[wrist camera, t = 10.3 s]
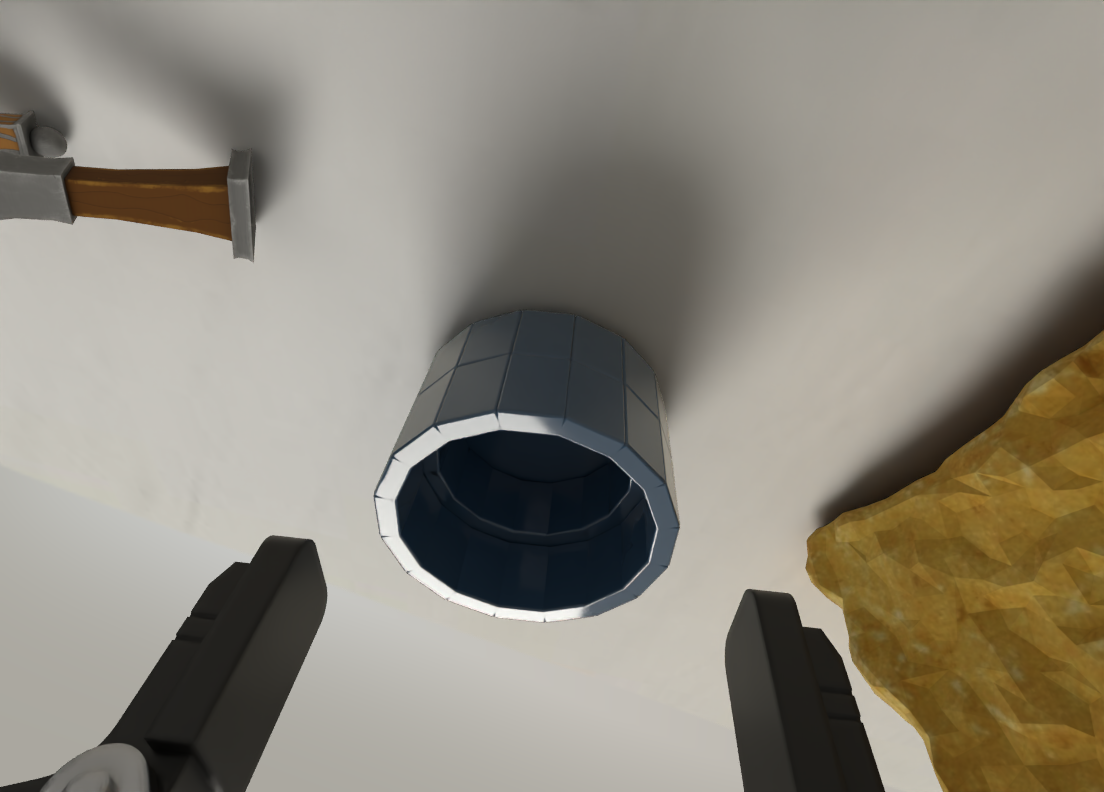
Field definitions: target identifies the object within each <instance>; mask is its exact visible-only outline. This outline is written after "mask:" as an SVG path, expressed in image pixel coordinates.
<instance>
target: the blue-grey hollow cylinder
mask: <svg viewBox="0 0 1104 792" xmlns="http://www.w3.org/2000/svg"><path fill="white" fill-rule="evenodd" d="M374 502H375V508H376V514H377V521H378V527H379V534H380V535H381V538H382V540H383V541H384V542H385V544H386V545H387V547H388V548H389V549H390V551H391V552H392V554H393V555H394V556H395V558H396V559H397V560H398V562H399V563H400V565H401V566H402V567H403V569H404V570H405V571H407V574H409V575H410V576H412V577H413V578H415V579H416V580H417V581H419V582H420V583H422V584H423V585H425V586H426V587H428V588H429V589H430V590H432V591H433V592H435V593H436V594H438V595H439V596H440V597H442V598H443V599H447V600H448V601H450V602H453V603H456V604H459V605H461V606H464V607H467V608H470V609H473V610H475V611H478V612H481V613H484V614H487V615H489V616H495V617H496V618H505V619H515V620H524V621H533V622H542V623H544V622H555V621H563V620H570V619H578V618H586V617H593V616H598V615H600V614H602V613H604V612H607V611H609V610H611V609H614V608H616V607H618V606H620V605H623V604H625V603H627V602H629V601H632V600H634V599H636V598H638V596H640V595H641V594H642V593H643V592H644V591H645V590H646V589H647V588H648V587H649V586H650V585H651V584H652V583H653V582H654V581H655V580H656V579H657V578H658V577H659V576H660V575H661V574H662V573H663V572H664V571H665V570H666V569H667V568H668V566H669V564H670V561H671V558H672V554H673V550H674V547H675V543H676V540H677V536H678V532H679V529H680V521H679V513H678V505H677V497H676V488H675V480H674V472H673V464H672V456H671V448H670V440H669V432H668V423H667V415H666V409H665V405H664V402H663V398H662V395H661V391H660V388H659V384H658V381H657V378H656V374H655V373H654V371H653V369H652V368H651V367H650V366H649V365H648V364H647V363H646V362H645V361H644V359H643V358H642V357H641V356H640V355H639V354H638V353H637V352H636V351H635V350H634V348H633V347H632V346H631V345H630V344H629V343H628V342H627V341H626V340H625V339H624V338H622V337H621V336H620V335H618V334H616V333H613V332H611V331H609V330H607V329H605V328H603V327H601V326H599V325H597V324H595V323H593V322H591V321H588V320H586V319H584V318H582V317H580V316H575V315H574V314H567V313H556V312H546V311H535V310H523V311H522V310H518V311H514V312H511V313H507V314H503V315H500V316H496V317H493V318H489V319H485V320H482V321H478V322H475V323H474V324H470V325H469V326H468V327H467V328H465V329H464V330H463V331H462V332H461V333H459V334H458V335H457V336H456V337H454V338H453V339H452V340H451V341H449V342H448V343H447V344H446V345H444V346H443V347H442V348H441V349H439V351H438V352H437V353H436V355H435V358H434V360H433V362H432V364H431V366H430V369H429V371H428V373H427V375H426V377H425V380H424V382H423V384H422V386H421V388H420V391H419V393H418V395H417V397H416V400H415V402H414V404H413V406H412V408H411V411H410V413H409V415H408V417H407V420H406V422H405V424H404V426H403V428H402V431H401V433H400V435H399V437H398V439H397V442H396V444H395V446H394V448H393V450H392V453H391V455H390V457H389V459H388V462H387V464H386V466H385V468H384V471H383V473H382V475H381V477H380V480H379V482H378V484H377V486H376V489H375V491H374Z"/></svg>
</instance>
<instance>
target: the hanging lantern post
mask: <svg viewBox="0 0 1104 792" xmlns="http://www.w3.org/2000/svg"><path fill="white" fill-rule="evenodd" d="M66 149H67V142H66V140H65V138H64V136H63V135H62V134H61V133H60V132H58V131H57V130H55V129H53V128H50V127H37V123H36V119H35V115H34V111H29V112H27V113H24V114H9V113H0V220H4V219H13V218H21V219H39V220H55V221H59V222H63V223H68V224H72V225H73V223H74V221H75V219H76V218H77V216H82V217H94V218H106V219H117V220H124V221H130V222H136V223H142V224H148V225H154V226H161V227H167V228H173V229H179V230H185V231H191V232H197V233H201V234H205V235H209V236H213V237H218V238H222V239H226V240H230V241H232V243H233V255H234V259H235V258H238V257H239V258H245V259H249V260H250V261H251V262H254V247H255V232H256V220H255V203H254V186H253V169H252V152H251V149H249V150H247V151H236V150H234V149H232V152H231V158H230V164H229V166H223V167H212V168H202V169H124V170H117V169H104V168H91V167H79V166H75V163H74V159H73V157H71V158H55V157H59V156H62V155H63V154H64V153H65V152H66ZM46 157H48V158H46Z"/></svg>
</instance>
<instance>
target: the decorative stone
mask: <svg viewBox="0 0 1104 792" xmlns="http://www.w3.org/2000/svg"><path fill="white" fill-rule="evenodd" d="M807 551H808V558H807V563H806V570H807V573H808V575H809V578H810V580H811V582H812V583H813V584H814V585H815V586H816V587H817V588H818V589H819V590H820V591H821V592H822V593H823V594H824V595H825V596H826V597H827V598H828V599H830V600H831V601H832V602H834V603H835V604H837V605H838V606H839V607H840V608H842V609H843V613H844V617H845V622H846V626H847V630H848V634H849V649H850V653H851V658H852V661H853V663H854V664H855V666H856V667H857V669H858V670H859V671H860V673H861V674H862V676H863V677H864V679H865V680H866V682H867V683H868V684H869V686H870V687H871V689H872V690H873V692H874V693H875V694H876V695H877V696H878V697H880V698H881V699H882V700H883V701H884V702H886V703H887V704H888V705H889V706H891V707H892V708H893V709H894V710H895V711H896V712H897V713H898V714H899V715H900V716H901V717H902V718H903V719H904V720H905V721H907V722H908V723H909V724H911V725H912V726H913V727H914V728H915V729H916V730H917V732H918V733H919V735H920V736H921V737H922V739H923V740H924V743H925V746H926V749H927V751H928V754H929V757H930V760H931V763H932V766H933V768H934V771H935V774H936V777H937V779H938V781H939V783H940V786H941V788H942V790H943V792H1104V330H1103V331H1102V332H1100V333H1099V334H1098V335H1097V336H1095V337H1094V338H1093V339H1092V340H1091V341H1089V342H1088V343H1087V344H1086V345H1085V346H1083V347H1081V348H1079V349H1077V350H1076V351H1074V352H1072V353H1070V354H1069V355H1067V356H1065V357H1063V358H1062V359H1060V360H1058V361H1057V362H1055V363H1053V364H1052V365H1050V366H1048V367H1047V368H1045V369H1043V370H1042V371H1040V372H1039V373H1038V374H1037V375H1036V376H1035V377H1034V378H1033V379H1031V380H1030V381H1029V382H1028V383H1027V384H1026V385H1025V386H1024V388H1023V389H1022V390H1021V392H1020V393H1019V395H1018V396H1017V397H1016V399H1015V400H1014V402H1013V403H1012V405H1011V406H1010V407H1009V409H1008V410H1007V412H1006V413H1005V414H1004V416H1003V417H1002V418H1000V419H999V420H998V421H997V422H996V423H994V424H993V425H992V426H991V427H989V428H988V429H987V430H985V431H984V432H982V433H981V434H979V435H978V436H976V437H975V438H973V439H972V440H971V441H969V442H968V443H966V444H965V445H963V446H962V447H961V448H960V449H958V450H957V451H956V452H954V453H953V454H952V455H951V456H949V457H948V458H947V459H945V460H944V462H943V463H942V464H941V466H940V467H939V468H938V470H937V471H936V472H934V473H932V474H929V475H927V476H925V477H923V478H920V479H918V480H916V481H914V482H913V483H911V484H910V485H908V486H906V487H905V488H903V489H901V490H900V491H898V492H896V493H895V494H893V495H892V496H890V497H888V498H886V499H884V500H881V501H878V502H876V503H873V504H871V505H868V506H865V507H861V508H858V509H854V510H851V511H847V512H844V513H842V514H841V515H840V516H838V517H837V518H836V519H835V520H834V521H832V522H831V523H829V524H828V525H826V526H824V527H821V528H818V529H816V530H815V531H814V532H813V533H812V534H811V535H810V536H809V537H808V539H807Z"/></svg>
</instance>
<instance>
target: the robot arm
mask: <svg viewBox="0 0 1104 792" xmlns="http://www.w3.org/2000/svg"><path fill="white" fill-rule="evenodd" d="M326 603H327V587H326V583H325V579H324V575H323V571H322V568H321V564H320V560H319V556H318V552H317V549H316V545H315V543H314V541H313V540H310V539H302V538H293V537H283V536H274V535H272V536H269V537H268V538H266V539H265V540H264V542H263V543H262V544H261V546H260V548H259V549H258V551H257V552H256V554H255V556H254V557H253V559H252V561H251V563H242V562H235V563H234V564H232V565H231V566H230V567H229V568H228V569H227V570H225V571H224V572H223V573H222V574H221V575H220V576H218V577H217V578H216V579H215V580H214V581H212V582H211V583H210V584H209V585H208V587H207V588H206V590H205V591H204V593H203V594H202V596H201V597H200V599H199V600H198V602H197V603H196V605H195V606H194V608H193V609H192V611H191V615H190V617H187V618H186V620H185V621H184V623H183V625H182V626H181V628H180V629H179V631H178V632H177V634H176V638H175V640H172V641H171V643H170V644H169V646H168V648H167V649H166V650H165V652H164V653H163V655H162V656H161V658H160V660H159V661H158V663H157V664H156V666H155V667H154V669H153V670H152V672H151V673H150V675H149V676H148V678H147V679H146V681H145V682H144V684H143V685H142V687H141V688H140V690H139V691H138V693H137V694H136V696H135V697H134V699H133V700H132V702H131V703H130V705H129V707H128V708H127V710H126V711H125V713H124V714H123V716H122V717H121V719H120V720H119V722H118V723H117V725H116V726H115V727H114V729H113V730H112V731H111V733H110V734H109V735H108V736H107V737H106V738H105V739H104V741H103V742H102V743H101V744H100V745H98V746H97V747H95V748H93V749H90V750H87V751H85V752H84V753H82V754H80V755H78V756H77V757H75V758H73V759H72V760H70V761H69V762H67V763H66V764H65V765H64V766H63V767H61V768H60V769H59V770H58V771H57V772H56V773H55V774H52V775H50V776H46V777H43V778H39V779H35V780H30V781H26V782H21V783H17V784H12V785H8V786H3V787H0V792H245V791H246V789H247V786H248V784H249V782H250V779H251V778H252V775H253V773H254V771H255V769H256V766H257V764H258V762H259V759H260V757H261V755H262V753H263V751H264V749H265V746H266V744H267V742H268V739H269V737H270V735H271V733H272V731H273V729H274V726H275V724H276V722H277V720H278V717H279V715H280V713H281V711H282V709H283V706H284V704H285V702H286V700H287V697H288V695H289V693H290V691H291V688H292V686H293V684H294V682H295V680H296V677H297V675H298V673H299V671H300V669H301V666H302V664H303V662H304V659H305V657H306V655H307V653H308V651H309V649H310V646H311V644H312V642H313V640H314V637H315V635H316V633H317V631H318V628H319V626H320V624H321V622H322V619H323V616H324V613H325V609H326ZM725 668H726V675H727V682H728V688H729V695H730V701H731V708H732V714H733V721H734V727H735V734H736V740H737V747H738V753H739V760H740V766H741V773H742V779H743V786H744V792H885V790H884V787H883V784H882V780H881V777H880V774H879V771H878V768H877V765H876V762H875V759H874V756H873V753H872V749H871V746H870V743H869V740H868V737H867V734H866V731H865V728H864V725H863V723H861V721H860V716H861V715H860V712H859V709H858V706H857V703H856V700H855V697H854V696H852V688H851V685H850V681H849V678H848V675H847V672H846V669H845V666H844V663H843V660H842V657H841V656H840V654H839V653H838V652H837V650H836V649H835V648H834V646H833V645H832V643H831V642H830V641H829V639H828V638H827V636H826V635H825V634H824V632H823V631H822V630H821V629H818V628H809V627H802V623H801V620H800V616H799V612H798V609H797V605H796V602H795V600H794V598H793V597H792V595H791V594H789V593H780V592H771V591H762V590H753V589H747V590H746V591H745V593H744V595H743V597H742V600H741V602H740V605H739V607H738V610H737V612H736V615H735V617H734V620H733V622H732V625H731V627H730V630H729V632H728V635H727V639H726V646H725Z"/></svg>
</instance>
